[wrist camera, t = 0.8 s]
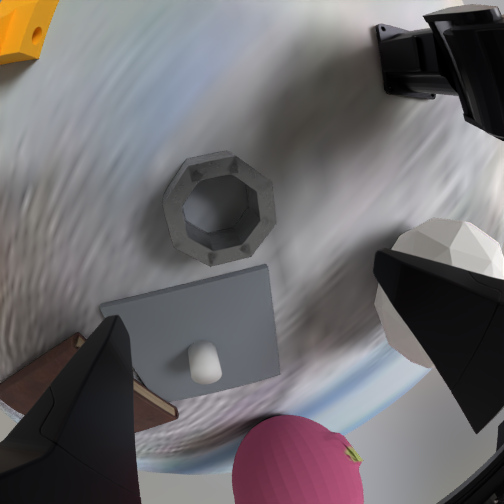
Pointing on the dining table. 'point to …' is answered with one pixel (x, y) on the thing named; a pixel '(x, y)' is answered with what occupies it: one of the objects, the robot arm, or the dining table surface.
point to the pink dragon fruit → (296, 465)
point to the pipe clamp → (24, 28)
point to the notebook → (48, 367)
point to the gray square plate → (202, 334)
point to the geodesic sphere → (444, 251)
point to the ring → (229, 240)
